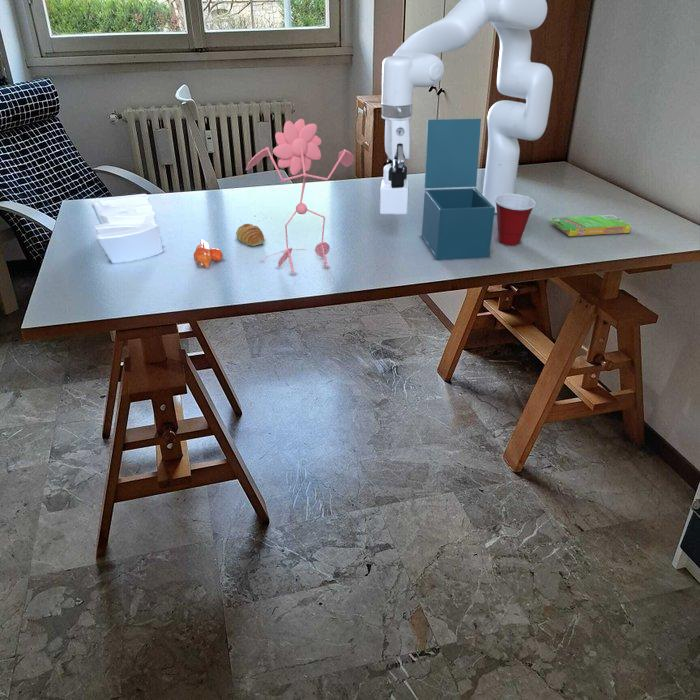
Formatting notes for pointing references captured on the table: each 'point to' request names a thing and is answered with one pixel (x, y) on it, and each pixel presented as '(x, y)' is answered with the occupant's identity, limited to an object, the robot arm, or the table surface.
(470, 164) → the cool box lid
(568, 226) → the game box
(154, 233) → the wavy white extrusion
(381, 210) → the medicine bottle
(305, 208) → the figurine
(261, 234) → the pastry
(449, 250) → the cool box
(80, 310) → the table surface
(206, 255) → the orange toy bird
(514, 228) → the plastic cup
